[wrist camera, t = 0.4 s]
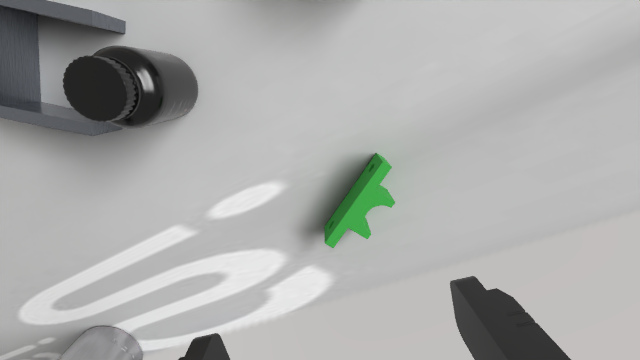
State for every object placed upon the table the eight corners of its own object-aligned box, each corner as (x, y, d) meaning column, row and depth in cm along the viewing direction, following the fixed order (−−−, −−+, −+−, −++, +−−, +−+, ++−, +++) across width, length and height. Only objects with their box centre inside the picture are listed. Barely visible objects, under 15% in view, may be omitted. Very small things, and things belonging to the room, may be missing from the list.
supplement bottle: (124, 80, 35) (26, 77, 23) (169, 40, 33) (90, 16, 22) (168, 131, 36) (97, 152, 25) (213, 94, 35) (160, 98, 23)
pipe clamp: (349, 240, 40) (352, 259, 36) (324, 225, 40) (324, 243, 35) (401, 168, 37) (412, 180, 33) (376, 152, 37) (383, 161, 33)
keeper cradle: (125, 21, 33) (55, -2, 24) (122, 129, 36) (59, 142, 27) (22, -2, 32) (-87, -34, 24) (28, 110, 35) (-66, 118, 27)
